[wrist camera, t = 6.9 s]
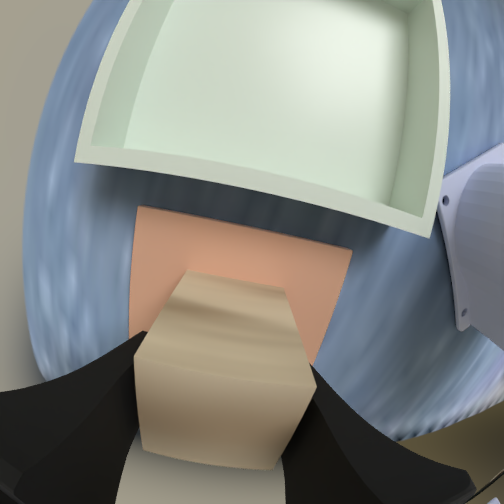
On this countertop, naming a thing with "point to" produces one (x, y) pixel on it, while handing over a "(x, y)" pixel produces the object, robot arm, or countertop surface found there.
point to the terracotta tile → (233, 266)
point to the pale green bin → (282, 100)
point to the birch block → (222, 374)
